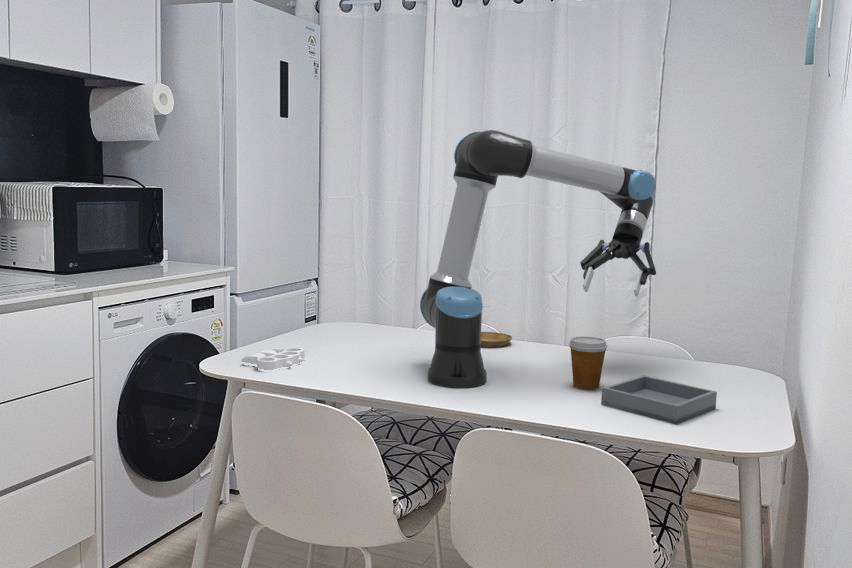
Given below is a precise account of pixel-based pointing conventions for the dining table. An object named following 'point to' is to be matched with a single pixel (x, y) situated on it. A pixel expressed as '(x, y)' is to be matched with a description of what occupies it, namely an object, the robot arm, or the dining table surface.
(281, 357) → the white holed plate
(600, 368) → the disposable coffee cup
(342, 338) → the dining table surface
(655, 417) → the grey tray
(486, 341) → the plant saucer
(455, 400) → the dining table surface
